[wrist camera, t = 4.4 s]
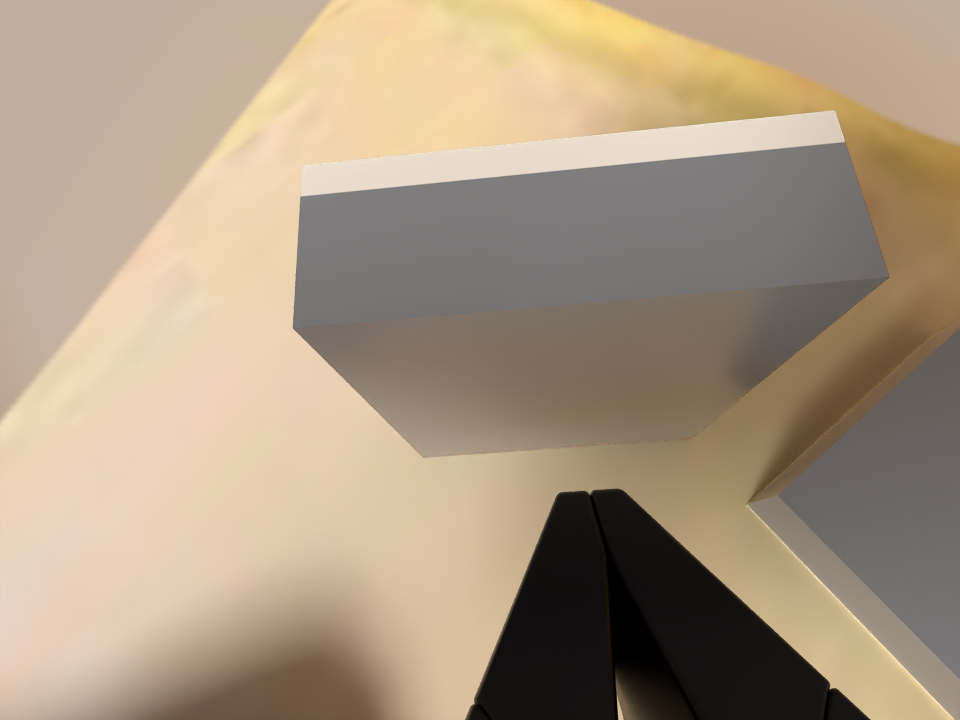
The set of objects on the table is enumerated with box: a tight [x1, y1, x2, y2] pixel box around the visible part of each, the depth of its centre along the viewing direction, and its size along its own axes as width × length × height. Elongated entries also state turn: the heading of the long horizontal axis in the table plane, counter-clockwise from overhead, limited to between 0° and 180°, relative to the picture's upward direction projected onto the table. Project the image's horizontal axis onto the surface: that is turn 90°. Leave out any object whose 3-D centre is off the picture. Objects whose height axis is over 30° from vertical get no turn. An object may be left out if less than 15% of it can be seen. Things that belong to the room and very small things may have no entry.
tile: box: [293, 110, 889, 458], centre depth 12 cm, size 2×7×9 cm, turn 93°
